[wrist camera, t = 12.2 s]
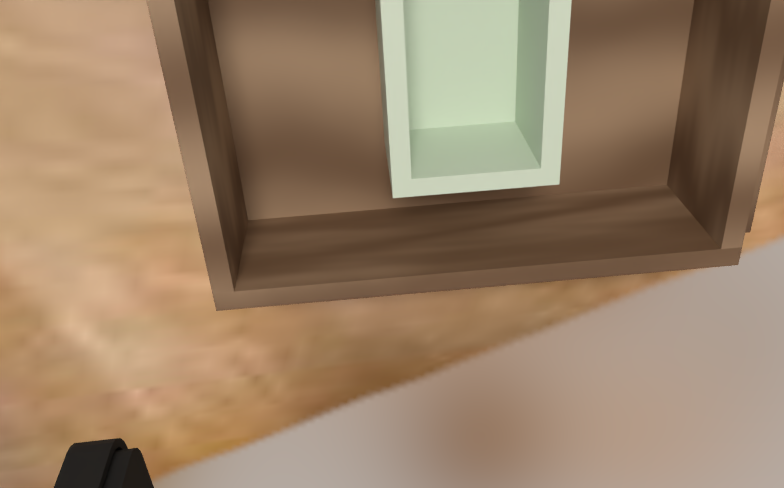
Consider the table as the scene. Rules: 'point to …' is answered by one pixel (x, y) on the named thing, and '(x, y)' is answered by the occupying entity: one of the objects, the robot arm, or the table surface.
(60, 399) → the table surface
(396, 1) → the sage crate
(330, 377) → the table surface
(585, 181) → the walnut crate
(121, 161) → the table surface
